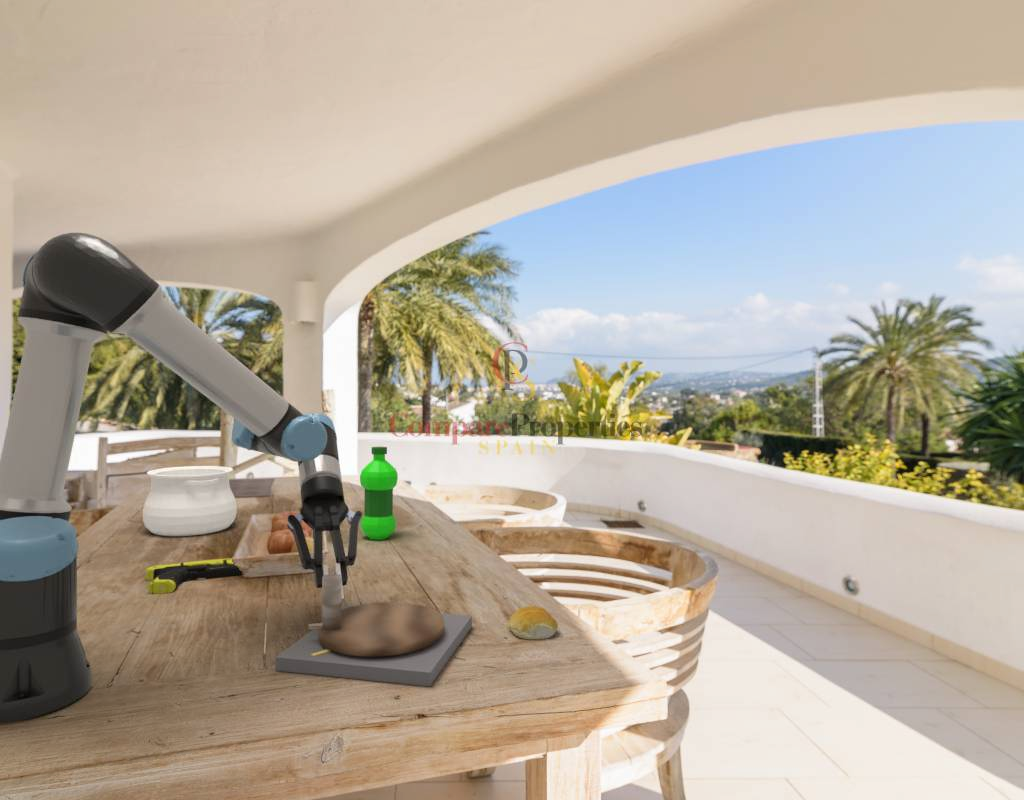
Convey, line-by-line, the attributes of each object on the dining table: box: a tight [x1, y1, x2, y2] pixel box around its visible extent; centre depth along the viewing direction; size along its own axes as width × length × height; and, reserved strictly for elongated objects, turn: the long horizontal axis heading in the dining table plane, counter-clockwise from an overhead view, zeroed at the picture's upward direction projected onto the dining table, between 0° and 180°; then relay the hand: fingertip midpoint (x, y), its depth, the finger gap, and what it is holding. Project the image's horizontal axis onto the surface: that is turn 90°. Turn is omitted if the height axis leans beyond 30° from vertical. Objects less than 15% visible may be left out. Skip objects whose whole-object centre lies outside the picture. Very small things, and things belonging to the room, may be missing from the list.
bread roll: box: [508, 605, 559, 641], centre depth 118 cm, size 8×9×4 cm
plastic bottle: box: [359, 446, 398, 541], centre depth 186 cm, size 10×10×25 cm
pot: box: [142, 465, 238, 537], centre depth 193 cm, size 26×24×17 cm
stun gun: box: [145, 557, 243, 595], centre depth 144 cm, size 3×19×15 cm
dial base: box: [275, 604, 473, 687], centre depth 109 cm, size 24×24×2 cm
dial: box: [308, 573, 444, 657], centre depth 109 cm, size 22×20×10 cm
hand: (334, 603), depth 110 cm, fingers closed
